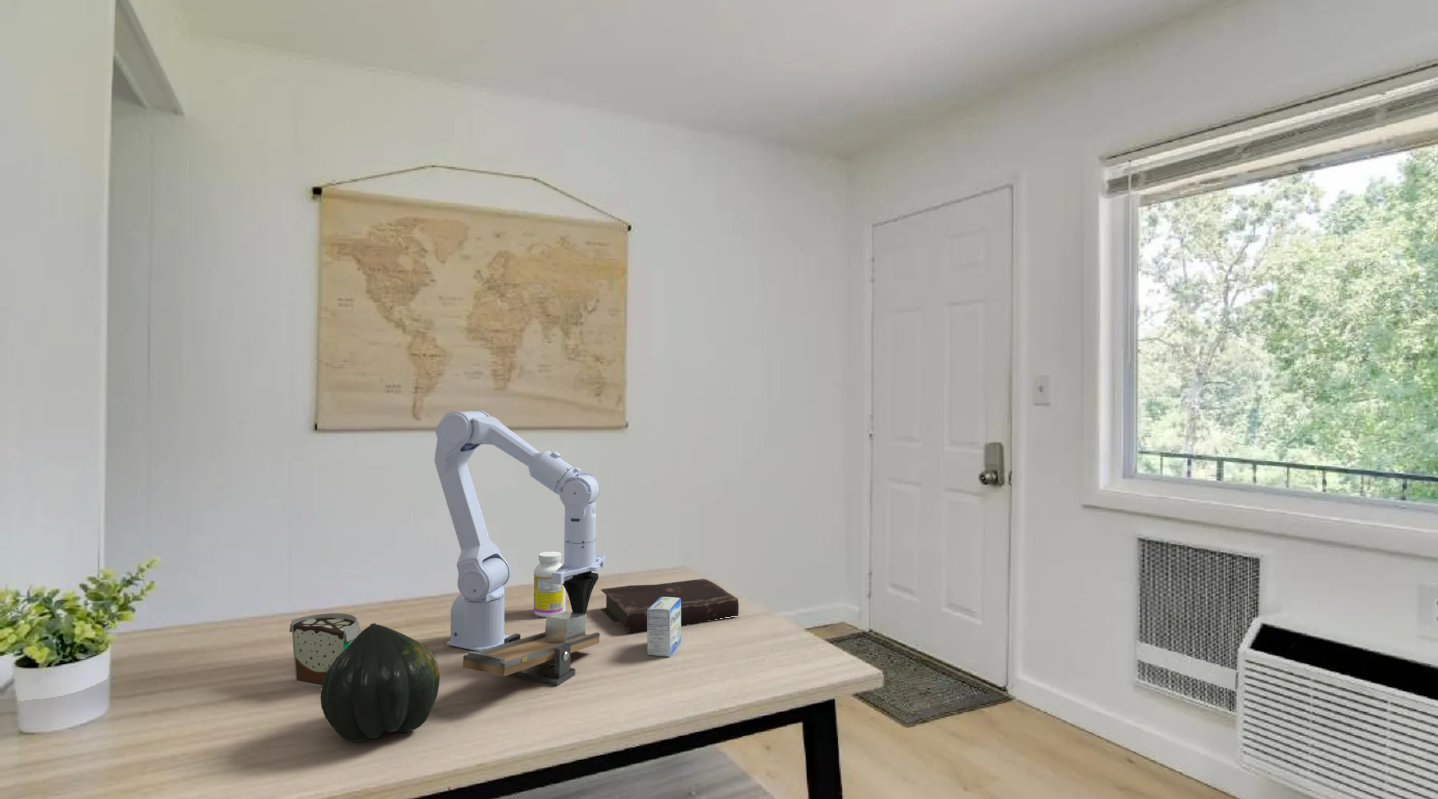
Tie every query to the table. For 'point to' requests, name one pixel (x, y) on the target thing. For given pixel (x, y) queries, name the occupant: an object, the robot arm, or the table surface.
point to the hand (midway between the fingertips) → (579, 613)
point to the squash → (379, 685)
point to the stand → (547, 666)
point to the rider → (565, 626)
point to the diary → (696, 596)
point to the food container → (320, 643)
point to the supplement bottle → (548, 586)
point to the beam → (521, 654)
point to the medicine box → (664, 626)
